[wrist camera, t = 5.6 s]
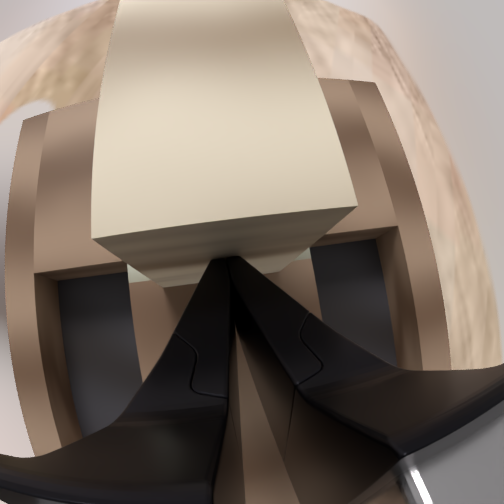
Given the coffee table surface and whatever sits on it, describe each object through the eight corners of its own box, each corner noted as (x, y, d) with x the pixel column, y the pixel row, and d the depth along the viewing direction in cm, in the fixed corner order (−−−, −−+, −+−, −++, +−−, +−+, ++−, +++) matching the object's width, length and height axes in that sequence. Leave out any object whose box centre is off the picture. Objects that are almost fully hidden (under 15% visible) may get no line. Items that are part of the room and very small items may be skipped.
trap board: (421, 504, 14) (444, 520, 11) (110, 560, 11) (99, 584, 8) (358, 108, 20) (374, 82, 17) (42, 143, 17) (23, 120, 14)
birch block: (279, 271, 14) (358, 205, 6) (163, 287, 13) (91, 239, 5) (244, 89, 16) (265, -36, 8) (152, 98, 15) (128, -25, 7)
